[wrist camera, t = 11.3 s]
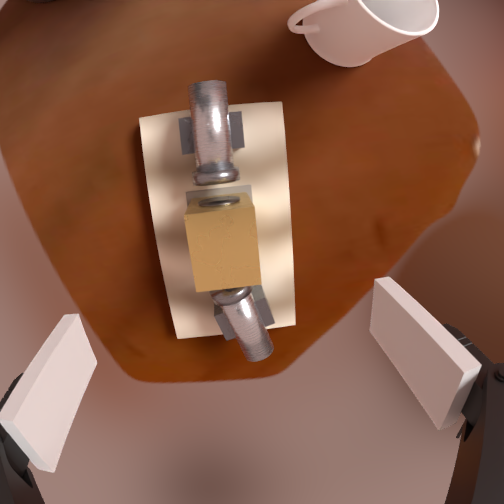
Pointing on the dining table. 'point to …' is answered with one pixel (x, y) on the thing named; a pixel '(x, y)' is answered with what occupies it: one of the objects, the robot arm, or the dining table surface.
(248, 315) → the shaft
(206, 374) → the dining table surface
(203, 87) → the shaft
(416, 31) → the mug
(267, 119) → the bench
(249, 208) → the wooden block with hole
